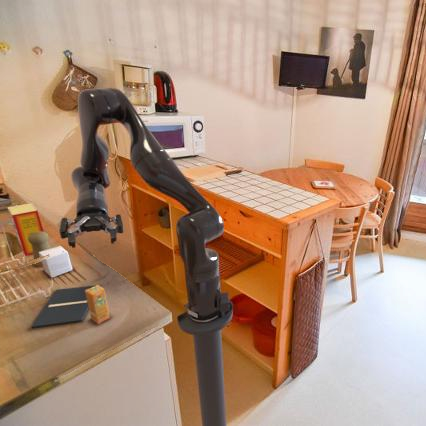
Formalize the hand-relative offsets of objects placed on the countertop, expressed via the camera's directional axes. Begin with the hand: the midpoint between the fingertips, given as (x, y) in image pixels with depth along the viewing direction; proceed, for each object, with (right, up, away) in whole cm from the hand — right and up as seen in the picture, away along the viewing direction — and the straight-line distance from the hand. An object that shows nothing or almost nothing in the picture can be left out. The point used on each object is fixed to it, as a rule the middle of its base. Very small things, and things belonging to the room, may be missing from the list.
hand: (93, 243), depth 84 cm
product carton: (-27, -11, +21) cm, 36 cm away
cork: (-34, -9, +25) cm, 44 cm away
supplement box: (0, -21, +3) cm, 22 cm away
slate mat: (-12, -19, +6) cm, 23 cm away
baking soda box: (-45, -5, +32) cm, 56 cm away
